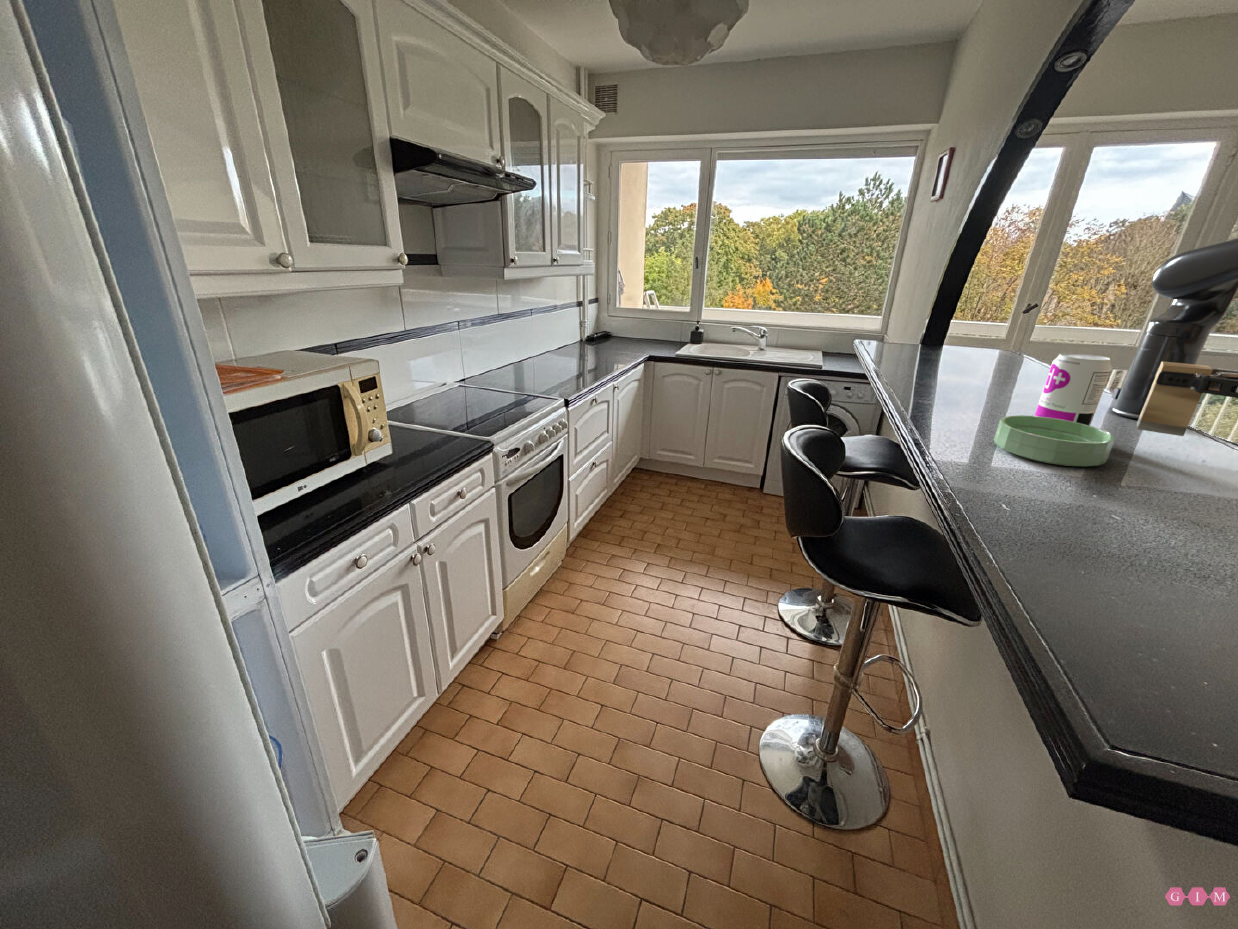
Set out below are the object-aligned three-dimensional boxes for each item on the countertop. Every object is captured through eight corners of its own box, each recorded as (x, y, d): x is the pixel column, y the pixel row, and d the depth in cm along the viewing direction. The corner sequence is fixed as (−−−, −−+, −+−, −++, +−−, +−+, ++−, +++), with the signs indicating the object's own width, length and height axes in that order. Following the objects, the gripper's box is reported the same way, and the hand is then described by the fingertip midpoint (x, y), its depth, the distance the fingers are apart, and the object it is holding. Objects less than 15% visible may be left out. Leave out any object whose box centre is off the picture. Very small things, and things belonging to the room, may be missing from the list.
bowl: (986, 433, 97) (993, 411, 95) (1086, 446, 91) (1095, 422, 89) (1002, 459, 84) (1010, 434, 83) (1120, 476, 78) (1131, 449, 77)
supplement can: (1040, 439, 94) (1068, 358, 88) (1022, 426, 101) (1047, 351, 96) (1093, 444, 92) (1125, 361, 86) (1070, 431, 99) (1099, 354, 94)
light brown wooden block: (1136, 423, 89) (1161, 361, 85) (1181, 430, 86) (1209, 365, 82) (1137, 429, 86) (1163, 364, 82) (1183, 436, 83) (1213, 369, 79)
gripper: (1321, 360, 77) (1163, 347, 88) (1350, 373, 68) (1169, 357, 78) (1296, 407, 80) (1146, 390, 91) (1321, 427, 70) (1150, 404, 81)
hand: (1157, 375), depth 84 cm, fingers closed on light brown wooden block, 4 cm apart
